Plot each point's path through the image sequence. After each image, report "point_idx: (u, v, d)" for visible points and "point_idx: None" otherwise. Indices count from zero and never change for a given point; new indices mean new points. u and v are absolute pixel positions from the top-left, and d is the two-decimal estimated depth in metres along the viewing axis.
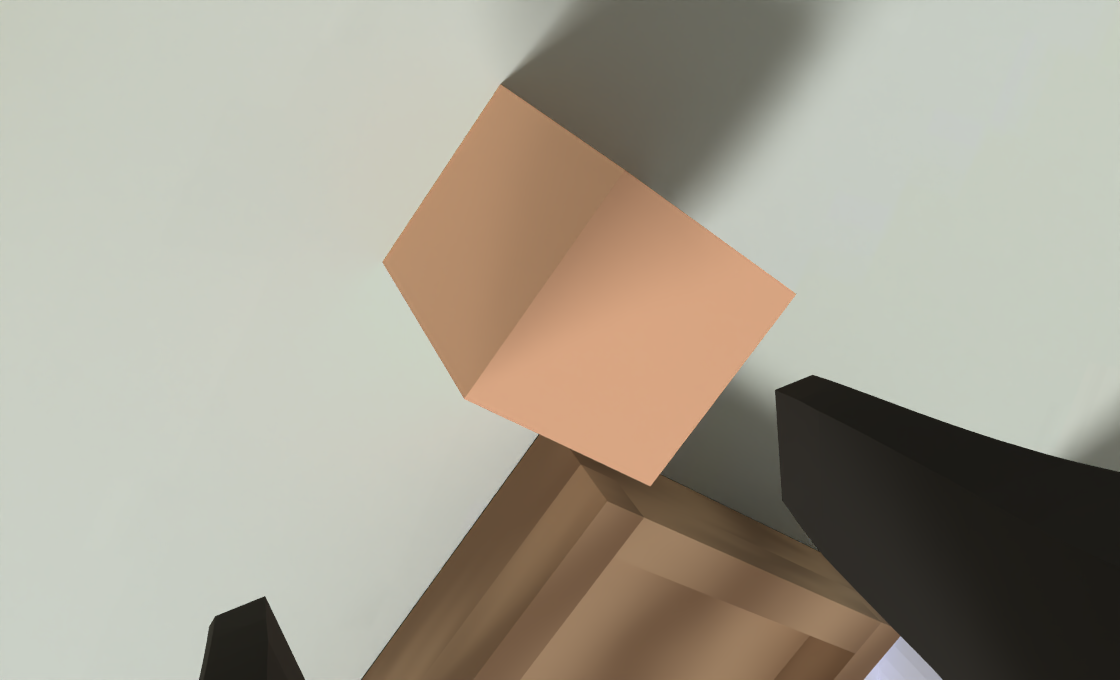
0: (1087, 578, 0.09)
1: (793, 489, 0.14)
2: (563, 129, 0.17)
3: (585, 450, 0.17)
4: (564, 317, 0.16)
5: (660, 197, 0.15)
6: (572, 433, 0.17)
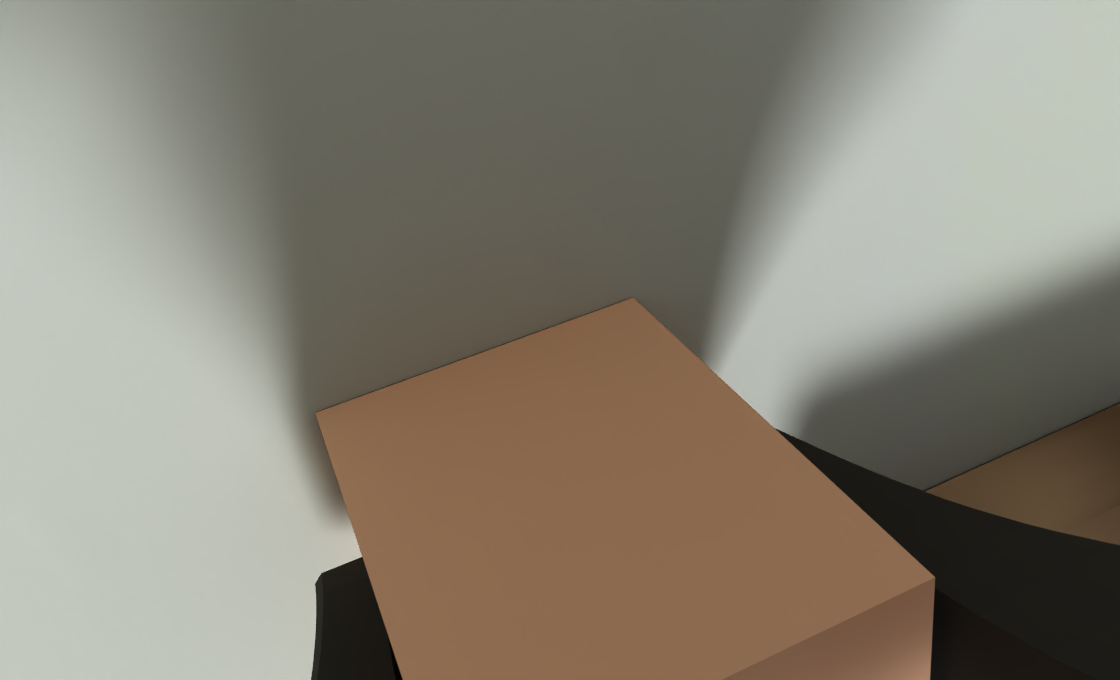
0: (973, 636, 0.08)
1: None
2: (376, 596, 0.09)
3: None
4: None
5: None
6: None
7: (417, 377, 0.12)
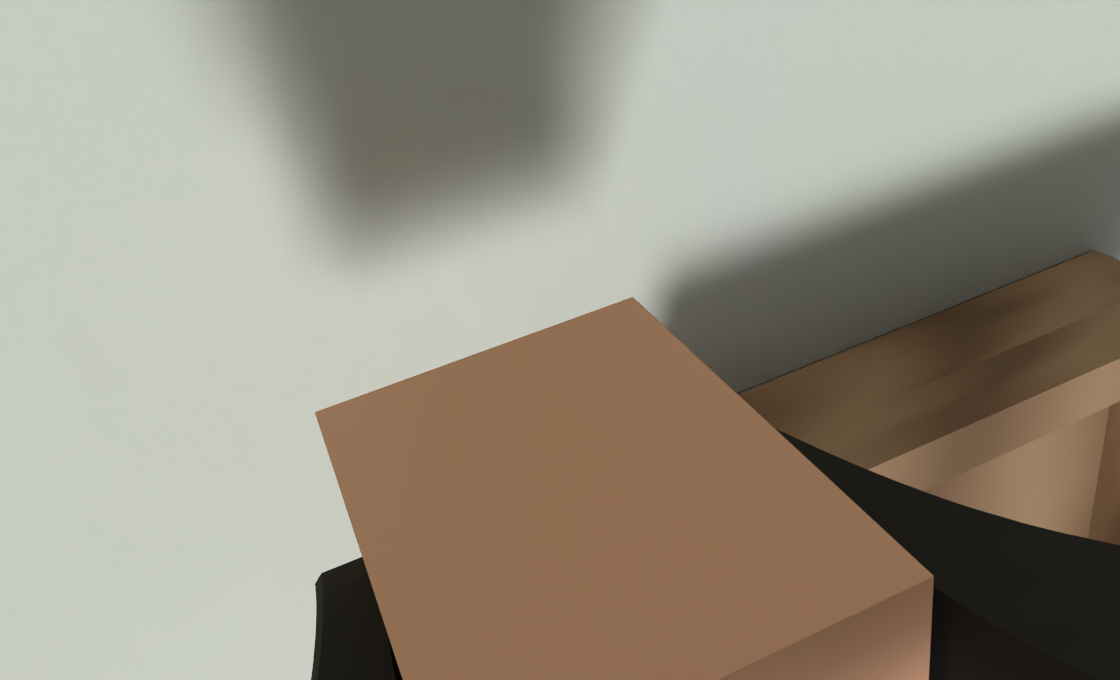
0: (973, 636, 0.08)
1: None
2: (375, 595, 0.09)
3: None
4: None
5: None
6: None
7: (416, 377, 0.12)
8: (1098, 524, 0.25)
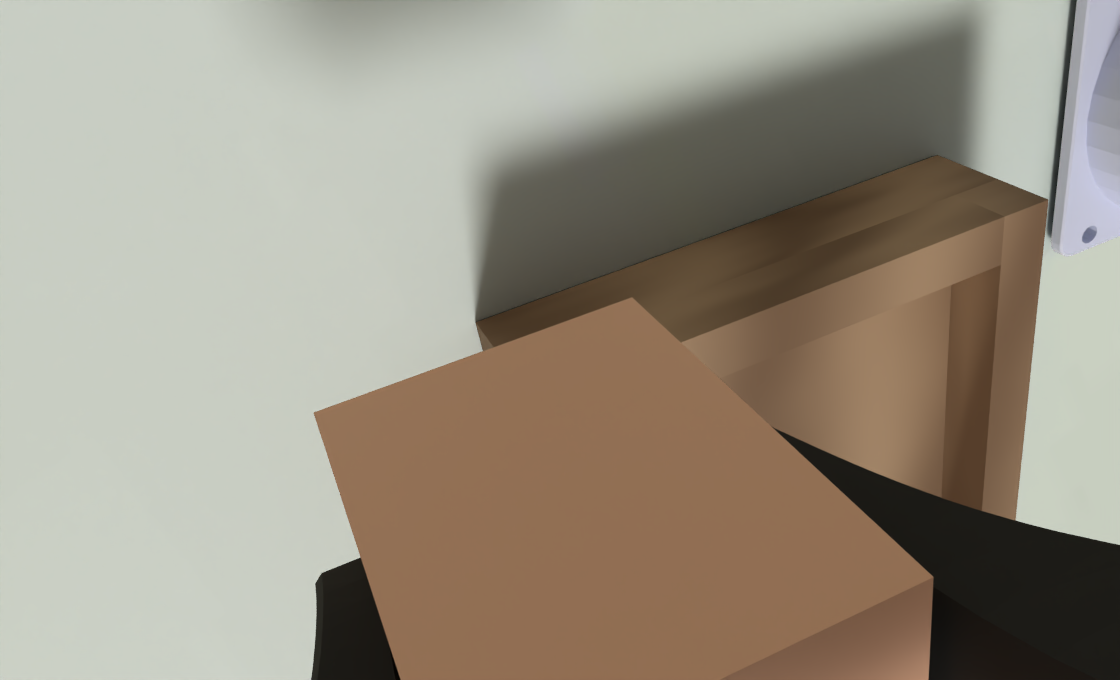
0: (973, 636, 0.08)
1: None
2: (374, 596, 0.09)
3: None
4: None
5: None
6: None
7: (415, 377, 0.12)
8: (951, 427, 0.25)
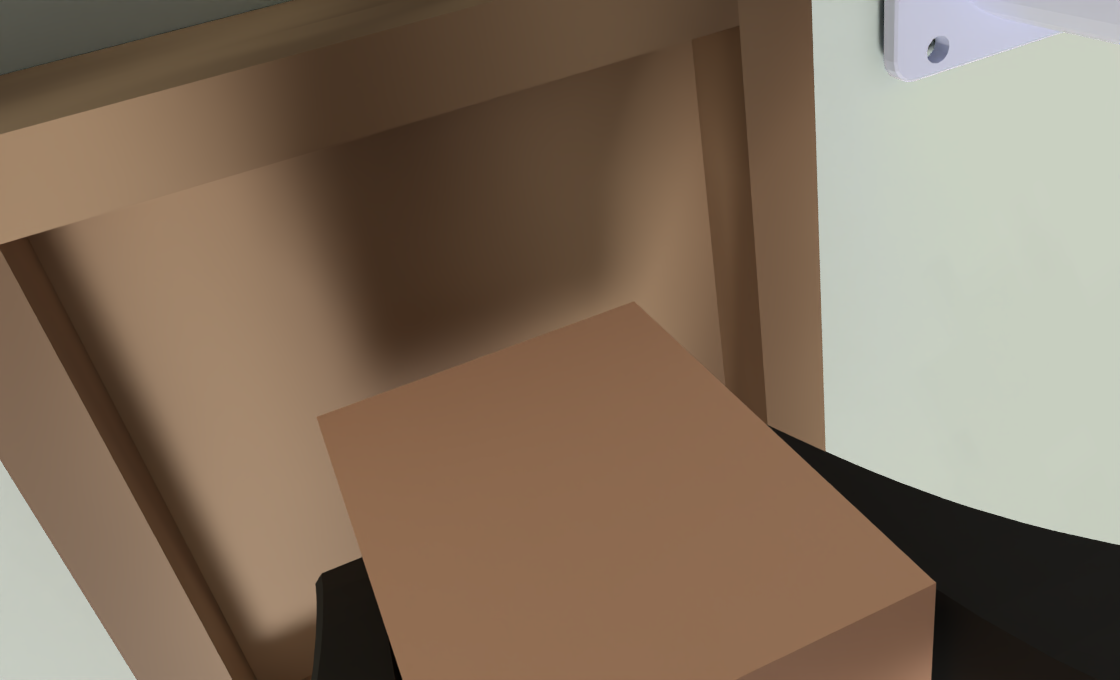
0: (971, 636, 0.08)
1: None
2: (377, 601, 0.09)
3: None
4: None
5: None
6: None
7: (418, 381, 0.12)
8: (724, 315, 0.18)
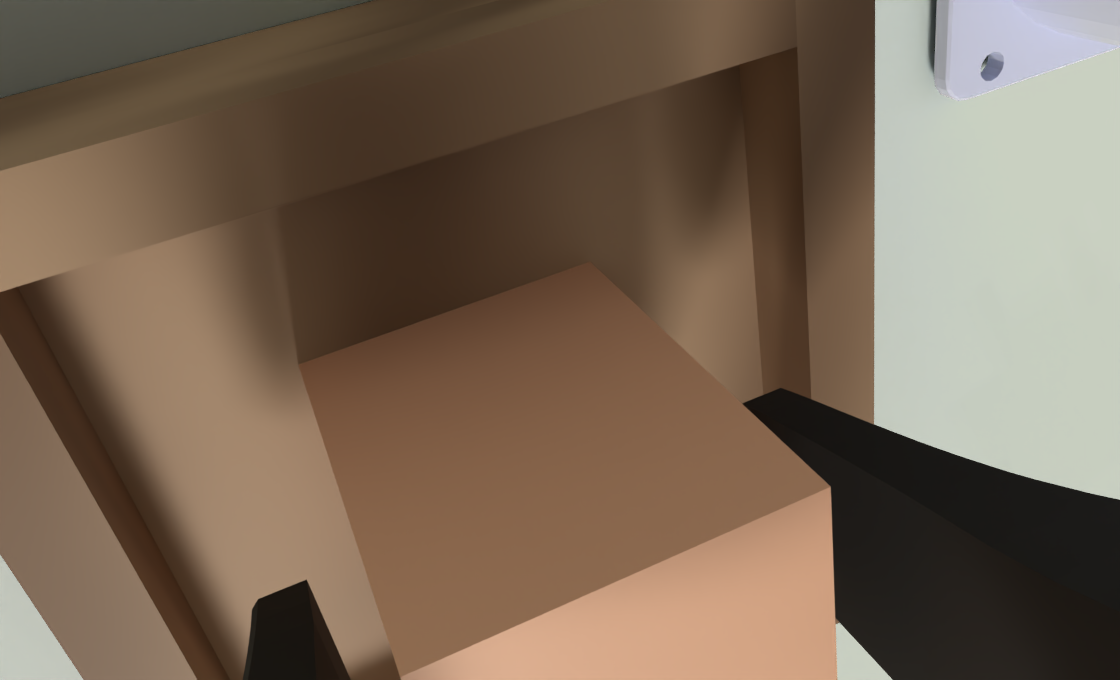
0: (1043, 600, 0.09)
1: None
2: (347, 513, 0.11)
3: None
4: None
5: (489, 640, 0.09)
6: None
7: (390, 332, 0.14)
8: (767, 353, 0.16)
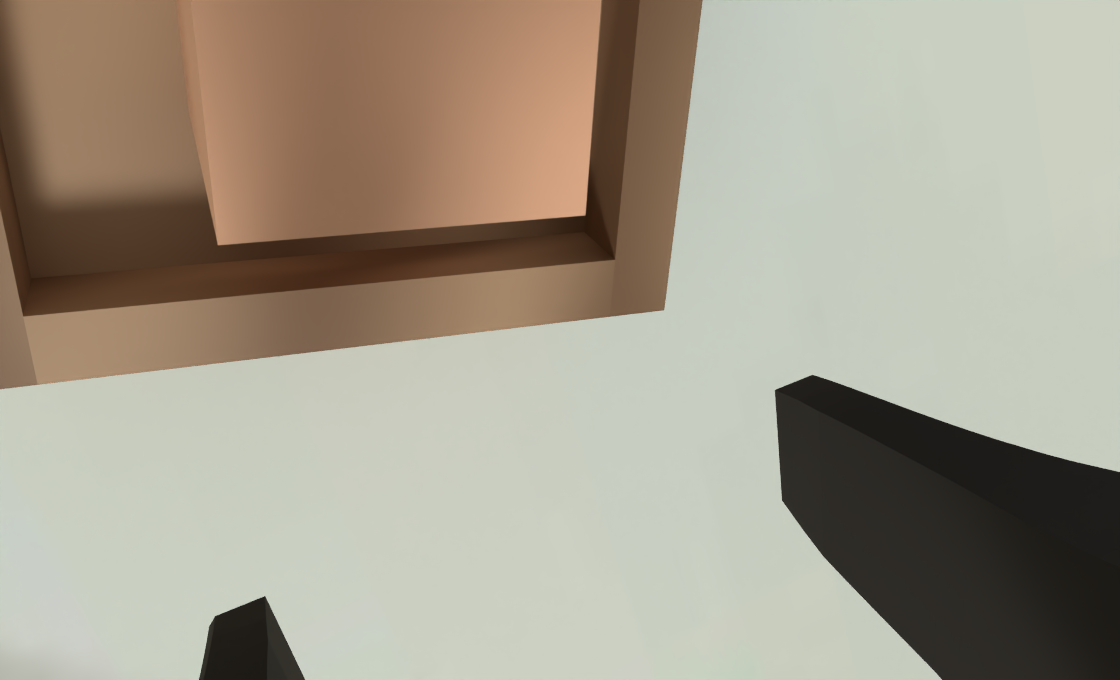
0: (1087, 578, 0.09)
1: (793, 489, 0.14)
2: None
3: (451, 219, 0.12)
4: (265, 63, 0.10)
5: None
6: (412, 208, 0.11)
7: None
8: (608, 0, 0.17)
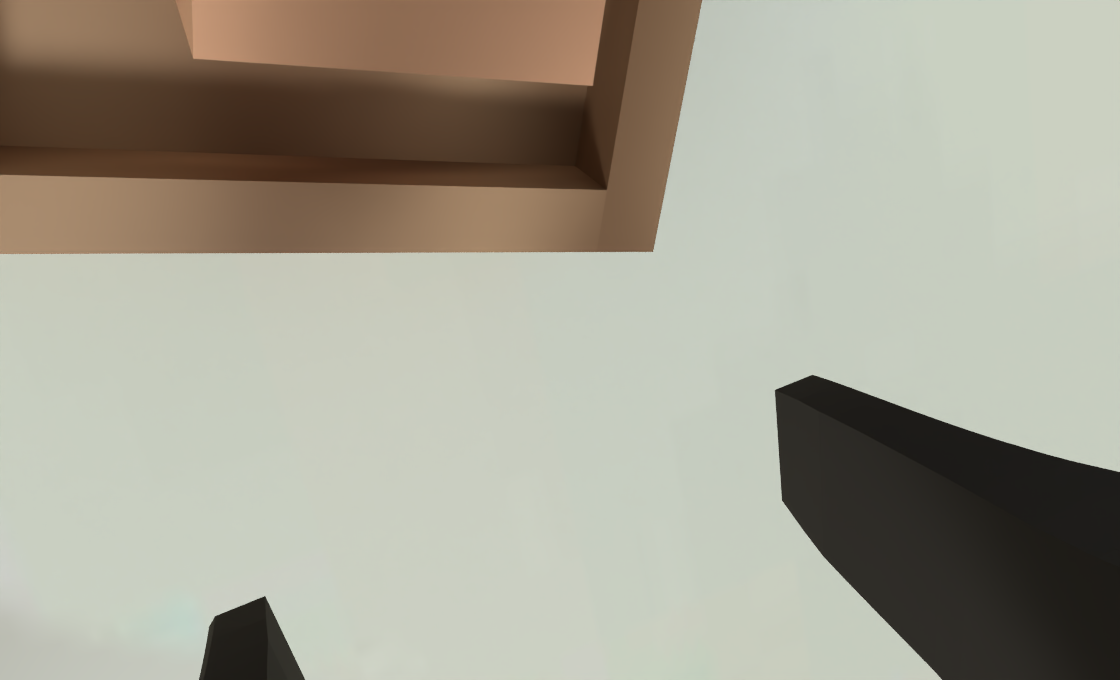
0: (1087, 578, 0.09)
1: (793, 489, 0.14)
2: None
3: (450, 68, 0.11)
4: None
5: None
6: (409, 48, 0.11)
7: None
8: None
